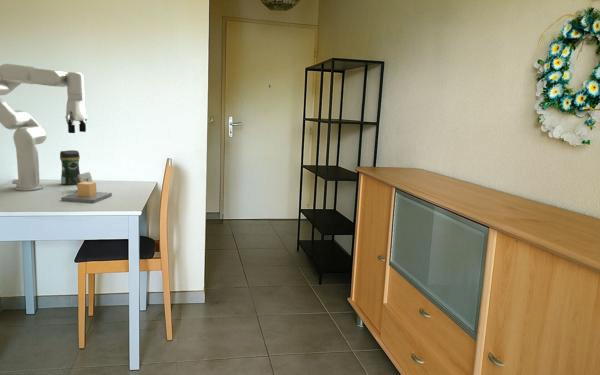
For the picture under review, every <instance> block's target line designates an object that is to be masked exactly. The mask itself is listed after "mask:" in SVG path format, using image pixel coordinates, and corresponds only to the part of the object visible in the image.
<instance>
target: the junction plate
mask: <svg viewBox="0 0 600 375" xmlns="http://www.w3.org/2000/svg"><path fill="white" fill-rule="evenodd" d="M112 196H113V192H103V191H96V195H93V196H91V197H86V196H78V191H76V192H73V193H70V194H67V195H65V196H64V195H63V196H61V197H60V199H61V200H60V201H62V202H76V203H90V204H95V203H97V202H100V201H102V200H105V199H107V198H110V197H112Z"/></svg>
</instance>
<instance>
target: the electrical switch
mask: <svg viewBox="0 0 600 375" xmlns="http://www.w3.org/2000/svg"><path fill="white" fill-rule="evenodd" d="M74 179H75V182H76V184H75V185H76V188H77V189H78V185H77V184H78V183H81V182H94V180H93V178H92V174H91V173H90V171H88V172H87V171H86V172H83V173H80V174H79V175H78V176H77V177H74Z"/></svg>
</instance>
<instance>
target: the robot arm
mask: <svg viewBox="0 0 600 375" xmlns="http://www.w3.org/2000/svg"><path fill="white" fill-rule="evenodd" d="M84 79H85V78H84V74H83V73H82V72H75V71H74V72H73V71H68V72H66V71H61V70H51V69H43V68H36V67H34V66H31V65H30V66H28V65H23V64H22V65H20V64H12V63H3V64H1V65H0V96H6V95H8V94H10V93H11V92H13V91H14V90H15V89H16V88H17V87H19V86H20V85H22V84H26V85H27V84H28V85H39V86H40V85H41V86H48V87H59V88H60V87H62V88H66V89H67V90H66V92H67V101H66V109H65V110H66V111H65V112H66V113H65V114H66V115H65V121H66V124H67V131H68V132H67V133H69V134H76V127H75V126H76V125H75V122H78V123H79V125H78V126H79V127H78V129H79V131H78V132H81V133H85V132H87V125H86V124H87V120H88V114H86V106H85V86H84V85H85V81H84ZM0 124H1V125H2V127H4V128H5V129H7V130H11V131H12V130H13V131H14V130H15V131H14V133H13V136H12V140H13V143H14V147H15V153H16V154H15V155H16V163H17V165H16V166H17V168H16V169H17V179H13V180H12V181H11V184H12V185H16V186H15V187H14V189H15V190H17V191H23V192H24V191H27V192H28V191H38V190H43V189H44V185H42V184H41V183H40V164H39V152H38V149H37V146H36V145H40V144H42V143H44V142H45V141H46V139H47V133H46V131H45V129H44V128H43V127H42V126H41V125H40V124H39V123H38V122H37V121H36V119H35V118H33V116H31V114H29V112H26V111H23V110H14V109H13V108H12V107H11V106H9V104H8V103H7V102H5V101H4V100H3V99H2V98H0Z"/></svg>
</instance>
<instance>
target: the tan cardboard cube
mask: <svg viewBox="0 0 600 375" xmlns="http://www.w3.org/2000/svg"><path fill="white" fill-rule="evenodd" d="M77 185H78V188H77V192H78V196H86V197H91V196H93V195H96V192H97V182H95V181H93V182H81V183H78V184H77ZM77 185H76V186H77Z"/></svg>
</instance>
